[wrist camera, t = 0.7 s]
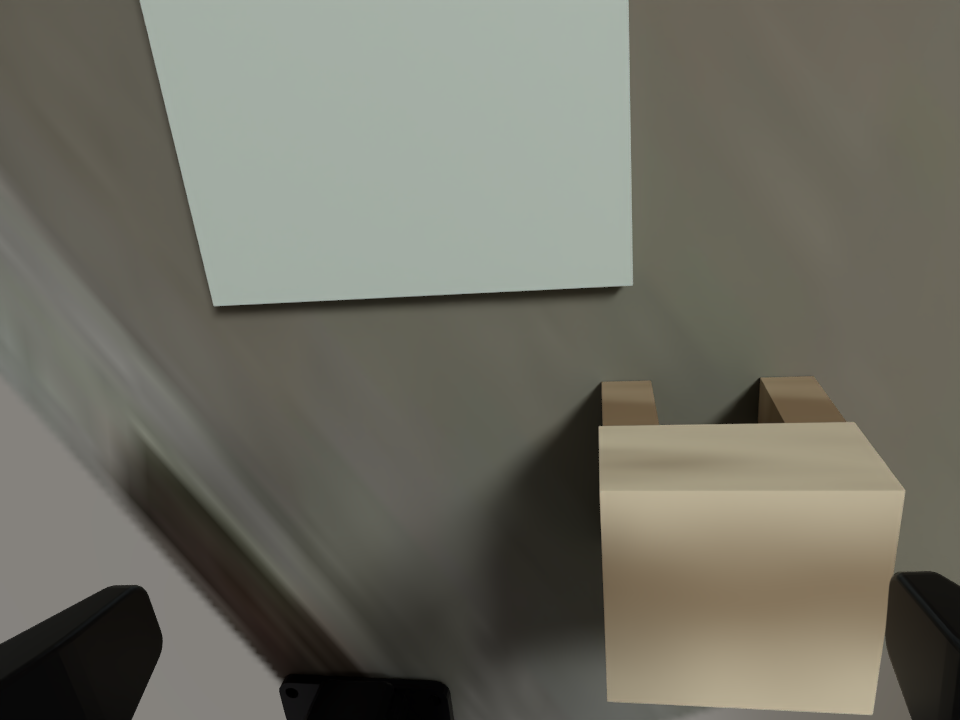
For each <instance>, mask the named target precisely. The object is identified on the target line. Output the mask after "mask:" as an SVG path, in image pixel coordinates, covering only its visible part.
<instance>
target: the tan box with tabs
mask: <svg viewBox="0 0 960 720" xmlns="http://www.w3.org/2000/svg"><path fill="white" fill-rule="evenodd" d="M602 417H603V426H599V483H600V514H601V541H602V567H603V594H604V621H605V647H606V674H607V700H608V702H625V703H645V704H665V705H685V706H705V707H724V708H745V709H765V710H784V711H805V712H825V713H844V714H864V715H873V709H874V702H875V695H876V689H877V682H878V675H879V667H880V661H881V654H882V647H883V641H884V634H885V627H886V616H887V604H888V592H889V583H890V580H891V577H892V576H893V572H894V565H895V558H896V551H897V545H898V538H899V531H900V524H901V517H902V510H903V503H904V497H905V489H904V488H903V487H902V485H901V484H900V483H899V481H898V480H897V479H896V477H895V476H894V475H893V473H892V472H891V471H890V469H889V468H888V467H887V465H886V464H885V463H884V461H883V460H882V459H881V457H880V456H879V455H878V453H877V452H876V451H875V449H874V448H873V447H872V445H871V444H870V442H869V441H868V440H867V438H866V437H865V436H864V434H863V433H862V432H861V430H860V429H859V428H858V426H857V425H856V424H855V422H846V421H845V419H844V418H843V416H842V415H841V414H840V412H839V411H838V410H837V408H836V407H835V405H834V404H833V403H832V401H831V400H830V398H829V397H828V396H827V394H826V393H825V392H824V390H823V389H822V387H821V386H820V385H819V383H818V382H817V381H816V379H815V378H814V376H804V377H767V378H760V393H759V411H758V424H702V425H659V422H658V417H657V411H656V406H655V400H654V395H653V390H652V384H651V381H617V382H602Z"/></svg>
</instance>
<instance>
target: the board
mask: <svg viewBox="0 0 960 720" xmlns="http://www.w3.org/2000/svg"><path fill="white" fill-rule="evenodd" d="M140 4H141V8H142V12H143V16H144V20H145V24H146V29H147V33H148V37H149V41H150V45H151V49H152V53H153V57H154V62H155V66H156V70H157V74H158V78H159V82H160V86H161V90H162V95H163V99H164V103H165V107H166V111H167V115H168V119H169V123H170V128H171V132H172V136H173V140H174V144H175V148H176V152H177V156H178V161H179V165H180V169H181V173H182V177H183V181H184V185H185V189H186V194H187V198H188V202H189V206H190V210H191V214H192V218H193V223H194V227H195V231H196V235H197V239H198V243H199V247H200V251H201V256H202V260H203V264H204V268H205V272H206V276H207V280H208V284H209V289H210V293H211V297H212V301H213V305H214V306H228V305H248V304H268V303H289V302H309V301H329V300H349V299H369V298H389V297H410V296H430V295H450V294H470V293H490V292H510V291H531V290H551V289H571V288H591V287H611V286H632V285H633V260H632V197H631V133H630V69H629V5H628V0H140Z"/></svg>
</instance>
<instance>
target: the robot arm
mask: <svg viewBox="0 0 960 720" xmlns="http://www.w3.org/2000/svg"><path fill="white" fill-rule="evenodd" d="M885 639H886V646H887V651H888V655H889V658H890V660H891V663H892V666H893V669H894V672H895V674H896V677H897V680H898V683H899V685H900V688H901V691H902V694H903V696H904V699H905V702H906V705H907V707H908V710H909V713H910V716H911V719H912V720H960V586H959V585H957V584H956V583H954V582H952V581H951V580H949V579H947V578H946V577H944V576H942V575H940V574H938V573H936V572H931V571H916V572H897V573H895V574H894V575H893V576H892V577H891V580H890V583H889V592H888V604H887V616H886V628H885ZM162 642H163V640H162V633H161V630H160V627H159V624H158V621H157V618H156V616H155V613H154V610H153V607H152V604H151V602H150V599H149V596H148V594H147V592H146V591H145V590H144V589H143V588H142V587H140V586H138V585H115V586H110V587H107V588H105V589H103V590H101V591H99V592H97V593H95V594H93V595H92V596H90V597H88V598H86V599H84V600H82V601H81V602H78V603H77V604H75V605H73V606H71V607H69V608H67V609H65V610H63V611H62V612H60V613H58V614H56V615H54V616H52V617H50V618H48V619H46V620H45V621H43V622H41V623H39V624H37V625H35V626H33V627H31V628H30V629H28V630H26V631H24V632H22V633H20V634H18V635H16V636H15V637H13V638H11V639H9V640H7V641H5V642H3V643H1V644H0V720H132V717H133V715H134V713H135V711H136V708H137V706H138V704H139V702H140V699H141V697H142V695H143V693H144V690H145V688H146V686H147V684H148V681H149V679H150V677H151V675H152V672H153V670H154V668H155V666H156V664H157V661H158V659H159V657H160V653H161V650H162ZM279 692H280V696H281V700H282V704H283V708H284V712H285V715H286V719H287V720H454V716H453V710H452V703H451V696H450V691H449V688H448V687H447V686H446V685H445V684H443V683H441V682H436V681H419V680H398V679H377V678H356V677H335V676H313V675H288V676H287V677H285V679H284V681H283V683H282V685H281V687H280V688H279ZM433 695H435V696H433ZM436 696H438V697H436Z"/></svg>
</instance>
